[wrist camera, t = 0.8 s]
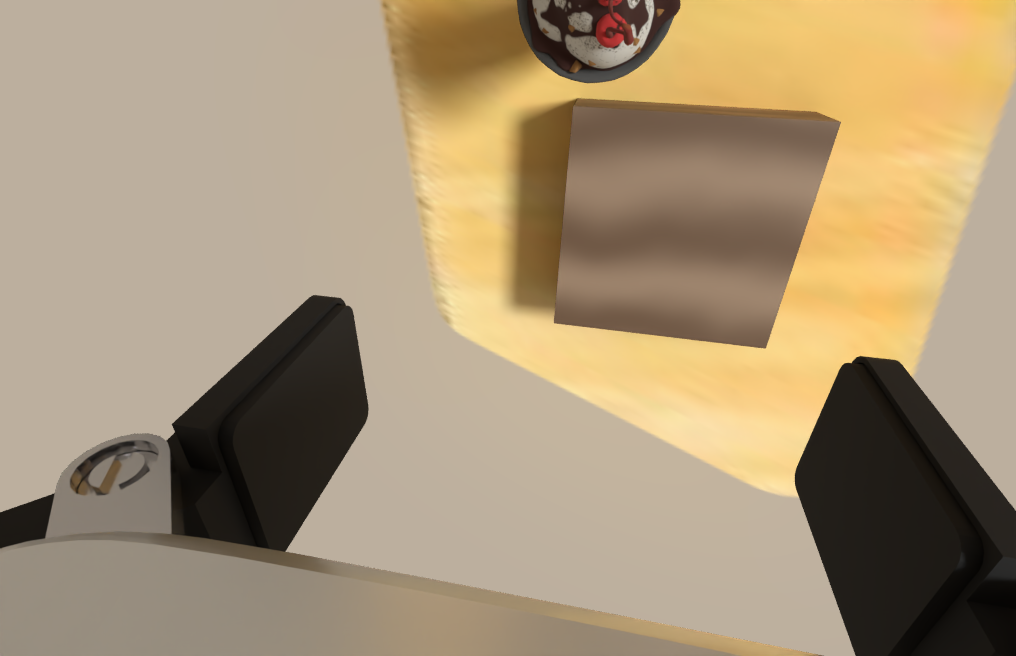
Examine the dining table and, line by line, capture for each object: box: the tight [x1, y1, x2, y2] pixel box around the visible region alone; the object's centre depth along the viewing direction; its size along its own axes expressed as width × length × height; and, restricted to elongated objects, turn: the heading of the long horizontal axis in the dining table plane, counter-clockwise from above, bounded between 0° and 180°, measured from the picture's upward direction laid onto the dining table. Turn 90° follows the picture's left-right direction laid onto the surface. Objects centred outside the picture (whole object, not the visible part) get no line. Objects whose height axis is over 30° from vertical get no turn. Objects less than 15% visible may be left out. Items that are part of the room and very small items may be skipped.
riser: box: [554, 98, 841, 348], centre depth 33 cm, size 14×14×4 cm
